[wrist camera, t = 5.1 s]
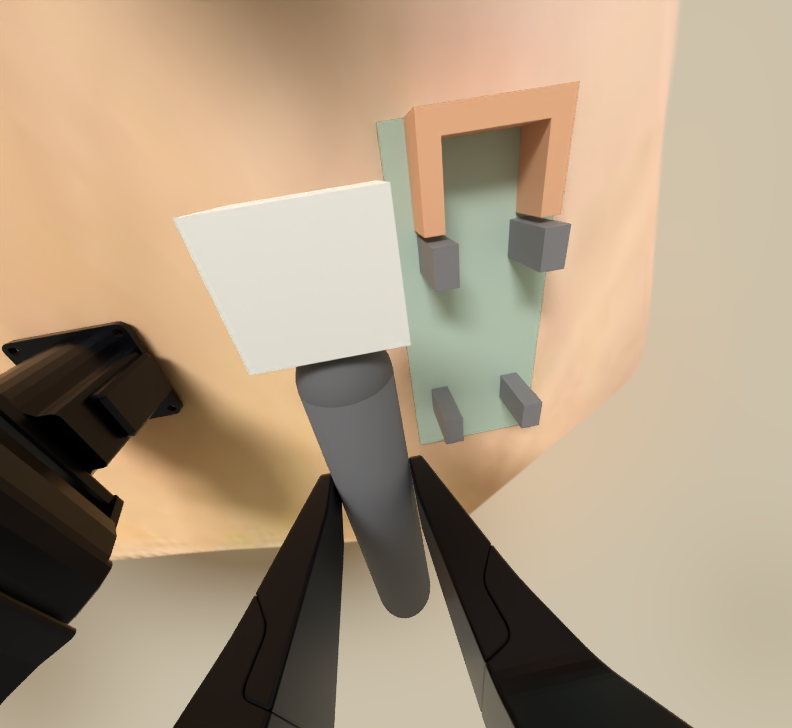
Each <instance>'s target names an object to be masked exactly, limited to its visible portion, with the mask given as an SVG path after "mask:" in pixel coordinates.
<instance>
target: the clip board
mask: <svg viewBox="0 0 792 728" xmlns="http://www.w3.org/2000/svg"><path fill="white" fill-rule="evenodd" d="M579 84H580V81H577V82H571V83H565V84H558V85H552V86H545V87H539V88H533V89H526V90H520V91H514V92H507V93H501V94H494V95H488V96H482V97H475V98H469V99H462V100H456V101H450V102H443V103H437V104H431V105H424V106H418V107H413V108H412V110H411V111H410V112H409V113H408V114H407V115H406V116H405V117H404V118H399V119H393V120H387V121H380V122H377V123H376V127H377V135H378V142H379V149H380V156H381V164H382V171H383V178H384V181H385V182H390V186H391V193H392V201H393V209H394V217H395V225H396V232H397V240H398V248H399V256H400V264H401V271H402V279H403V287H404V295H405V303H406V311H407V318H408V326H409V334H410V342H411V345H409V346H407V353H408V360H409V367H410V375H411V382H412V389H413V396H414V404H415V411H416V418H417V426H418V433H419V440H420V444H421V445H423V444H428V443H433V442H437V441H442V440H445V443H446V444H449V443H454V442H459V441H464V436H466V435H471V434H476V433H481V432H485V431H490V430H495V429H500V428H505V427H509V426H514V425H519V426H520V427H521V428H526V427H531V426H535V425H539V420H540V414H541V407H542V401H541V400H540V399H539V398H538V397H537V395H536V394H535V393H534V392H533V391H532V390H531V382H532V374H533V367H534V359H535V351H536V344H537V336H538V328H539V321H540V313H541V305H542V298H543V290H544V282H545V275H546V272H548V271H553V270H559V269H564V265H565V259H566V253H567V246H568V240H569V234H570V228H571V224H569V223H564V222H559V221H555V220H553V215H558V214H561V210H562V203H563V196H564V189H565V182H566V175H567V168H568V161H569V154H570V147H571V140H572V133H573V126H574V119H575V112H576V105H577V98H578V91H579Z"/></svg>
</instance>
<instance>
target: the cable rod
mask: <svg viewBox="0 0 792 728" xmlns="http://www.w3.org/2000/svg"><path fill="white" fill-rule="evenodd" d="M173 220H174V222H175V224H176V226H177V228H178V230H179V232H180V234H181V236H182V238H183V240H184V242H185V244H186V246H187V248H188V250H189V252H190V254H191V257H192V259H193V261H194V263H195V265H196V267H197V269H198V271H199V273H200V275H201V277H202V279H203V281H204V283H205V285H206V287H207V289H208V291H209V293H210V295H211V297H212V299H213V301H214V303H215V305H216V307H217V309H218V312H219V314H220V316H221V318H222V320H223V322H224V324H225V326H226V328H227V330H228V332H229V334H230V336H231V338H232V340H233V342H234V344H235V346H236V348H237V350H238V352H239V354H240V356H241V358H242V360H243V362H244V365H245V367H246V369H247V371H248V373H249V375H254V374H260V373H265V372H270V371H276V370H281V369H286V368H292V367H296V385H297V389H298V393H299V396H300V398H301V401H302V403H303V406H304V408H305V411H306V413H307V416H308V418H309V421H310V423H311V426H312V428H313V431H314V433H315V436H316V438H317V441H318V443H319V446H320V448H321V451H322V453H323V456H324V458H325V461H326V463H327V466H328V468H329V471H330V473H331V476H332V478H333V481H334V483H335V486H336V488H337V491H338V493H339V496H340V498H341V501H342V503H343V506H344V508H345V511H346V513H347V516H348V518H349V521H350V523H351V526H352V528H353V531H354V533H355V536H356V538H357V541H358V543H359V546H360V548H361V551H362V553H363V556H364V558H365V561H366V563H367V566H368V568H369V571H370V573H371V576H372V578H373V581H374V583H375V586H376V588H377V591H378V594H379V596H380V598H381V601H382V603H383V605H384V606H385V608H386V609H387V610H388V611H389V612H390V613H391V614H393V615H394V616H397V617H400V618H409V617H412V616H415V615H416V614H418V613H419V612H420V611H421V610H422V609H423V608H424V606H425V605H426V603H427V600H428V598H429V593H430V580H429V574H428V568H427V562H426V557H425V551H424V545H423V539H422V534H421V528H420V522H419V516H418V511H417V505H416V499H415V493H414V488H413V482H412V476H411V470H410V465H409V459H408V453H407V447H406V442H405V436H404V430H403V424H402V419H401V413H400V407H399V401H398V395H397V390H396V384H395V378H394V372H393V367H392V363H391V360H390V357H389V355H388V353H387V351H386V350H388V349H393V348H398V347H404V346H409V345H411V342H410V334H409V326H408V318H407V311H406V303H405V295H404V287H403V279H402V271H401V264H400V256H399V248H398V240H397V232H396V225H395V217H394V209H393V201H392V193H391V186H390V182H385V181H379V180H376V181H370V182H364V183H358V184H352V185H346V186H340V187H334V188H328V189H322V190H316V191H310V192H304V193H298V194H292V195H286V196H280V197H274V198H268V199H262V200H256V201H250V202H244V203H238V204H232V205H227V206H222V207H218V208H214V209H210V210H206V211H202V212H198V213H193V214H189V215H185V216H181V217H177V218H173Z"/></svg>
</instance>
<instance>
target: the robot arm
mask: <svg viewBox="0 0 792 728" xmlns="http://www.w3.org/2000/svg"><path fill="white" fill-rule="evenodd" d="M117 329H120V330H121V331H122V332H123V334H122V333H120V332H119V331H118V330H117ZM18 350H19V351H18ZM2 351H3V352H4V353H5V354H6V355H7V356H8V357H9V358H10V360H11V361H12V362H13V363H14V364H15V365H16V366H15V367H13V368H11V369H9V370H8V371H6V372H4V373H2V374H1V375H0V705H1V703H2V702H3V701H4V700H5V699H6V698H7V697H8V696H9V695H10V694H11V693H12V692H13V691H14V690H15V689H16V688H17V687H18V686H19V685H20V684H21V682H23V681H24V680H25V679H26V678H27V677H28V676H29V675H30V674H31V673H32V672H33V671H34V670H35V669H36V668H37V667H38V666H39V665H40V664H41V663H43V662H44V661H45V660H46V659H48V658H49V657H50V656H51V655H53V654H54V653H55V652H56V651H57V650H59V649H60V648H61V647H62V646H64V645H65V644H66V643H67V642H68V641H70V640H71V639H72V638H73V636H74V635H75V633H76V629H75V628H74V627H72V626H70V625H68V624H69V623H70V622H71V621H72V620H73V619H74V618H75V617H76V616H77V615H78V613H79V612H80V611H81V610H82V608H83V607H84V606H85V605H86V604H87V602H88V601H89V600H90V599H91V598H92V596H93V595H94V594H95V593H96V592H97V590H98V589H99V588H100V586H101V584H102V583H103V581H104V580H105V578H106V577H107V575H108V573H109V572H110V570H111V568H112V561H110V560H109V558H110V556H111V553H112V550H113V546H114V543H115V540H116V537H117V535H116V527H117V524H118V520H119V517H120V514H121V510H122V507H123V503H124V501H123V500H121V499H120V498H119V497H118V496H117V495H112V494H111V493H110V492H109V491H108V490H107V489H106V488H105V487H104V486H103V485H101V484H100V483H99V482H98V481H97V480H96V479H95V478H94V477H93V476H92V475H93V474H94V473H95V471H96V470H97V469H100V468H104V467H107V465H108V464H109V463H110V462H111V460H112V459H113V458H114V457H115V456H116V454H117V453H118V452H119V451H120V450H121V448H122V447H123V446H124V445H125V443H126V442H127V441H128V440H129V439H130V437H131V436H135V435H136V434H137V433H138V431H139V430H140V429H141V428H142V427H143V425H144V424H145V423H146V422H147V420H148V419H152V418H157V417H162V416H167V415H172V414H177V413H179V412H180V411H181V409H182V408H183V403H182V401H181V400H180V398H179V397H178V396H177V394H176V393H175V391H174V390H173V388H172V386H171V385H170V383H169V382H168V381H167V379H166V378H165V376H164V375H163V373H162V372H161V370H160V369H159V367H158V366H157V364H156V363H155V361H154V360H153V358H152V357H151V356H150V354H149V353H148V351H147V350H146V348H145V347H144V346H143V344H142V343H141V341H140V340H139V338H138V337H137V335H136V334H135V332H134V331H133V329H132V328H131V327H130V326H129V325H128V324H126V323H124V322H112V323H106V324H101V325H95V326H90V327H84V328H79V329H73V330H68V331H62V332H57V333H51V334H46V335H40V336H35V337H29V338H24V339H18V340H13V341H11V342H9V343H7V344H5V345H3V346H2ZM171 405H173V406H175V407H173V406H171ZM409 464H410V469H411V475H412V480H413V485H414V490H415V495H416V500H417V505H418V511H419V516H420V521H421V525H422V529H423V532H424V536H425V539H426V542H427V545H428V548H429V552H430V555H431V558H432V561H433V564H434V567H435V570H436V573H437V576H438V579H439V582H440V586H441V589H442V592H443V595H444V598H445V601H446V605H447V608H448V611H449V614H450V617H451V620H452V623H453V626H454V629H455V633H456V636H457V639H458V642H459V645H460V648H461V651H462V654H463V657H464V661H465V664H466V667H467V670H468V673H469V676H470V679H471V682H472V686H473V688H474V692H475V695H476V698H477V701H478V704H479V707H480V710H481V712H482V717H483V720H484V723H485V726H486V728H693V727H692V726H690V725H689V724H687V723H686V722H685V721H683V720H682V719H680V718H679V717H678V716H676V715H675V714H673V713H672V712H670V711H669V710H668V709H666V708H665V707H663V706H662V705H661V704H659V703H658V702H656V701H655V700H654V699H652V698H651V697H649V696H648V695H646V694H645V693H644V692H642V691H641V690H639V689H638V688H637V687H635V686H634V685H632V684H631V683H630V682H628V681H627V680H625V679H624V678H622V677H621V676H620V675H618V674H617V673H616V672H614V671H613V670H612V669H610V668H609V667H608V666H607V665H606V664H605V663H603V662H602V661H601V660H600V659H599V658H598V657H597V656H595V655H594V654H593V653H592V652H591V651H590V650H589V649H588V648H587V647H586V646H585V645H584V644H583V643H582V642H581V641H580V640H579V639H578V638H577V637H576V636H575V635H574V634H573V633H572V632H571V631H570V630H569V629H568V628H567V627H566V626H565V625H564V624H563V623H562V622H561V621H560V620H559V618H557V617H556V615H554V613H553V612H552V611H551V610H550V609H549V608H548V607H547V606H546V605H545V604H544V603H543V602H542V601H541V600H540V599H539V598H538V597H537V596H536V595H535V594H534V593H533V592H532V591H531V590H530V589H529V587H528V586H527V585H526V584H525V583H524V582H523V581H522V580H521V579H520V578H519V576H518V575H517V574H516V573H515V572H514V571H513V569H512V568H511V567H510V566H509V565H508V563H507V562H506V561H505V560H504V559H503V558H502V556H501V555H500V554H499V552H498V551H497V550H496V549H495V548H494V546H492V545H491V543H490V541H489V540H488V539H487V538H486V537H485V535H484V534H483V533H482V531H481V530H480V529H479V528H478V526H477V525H476V524H475V523H474V521H473V520H472V519H471V517H470V516H469V515H468V514H467V512H466V511H465V510H464V508H463V507H462V506H461V505H460V503H459V502H458V501H457V500H456V498H455V497H454V496H453V495H452V493H451V492H450V491H449V490H448V488H447V487H446V486H445V484H444V483H443V482H442V481H441V479H440V478H439V477H438V476H437V474H436V473H435V472H434V471H433V469H432V468H431V467H430V466H429V464H428V463H427V462H426V460H425V459H424V458H423V457H422V456H421V455H418V456H413V457H410V458H409ZM343 552H344V535H343V517H342V501H341V498H340V496H339V493H338V491H337V488H336V486H335V483H334V481H333V478H332V476H331V473H328V474H323V475H321V476H320V477H319V479H318V481H317V483H316V484H315V486H314V488H313V490H312V492H311V493H310V495H309V497H308V499H307V501H306V503H305V504H304V506H303V508H302V510H301V512H300V514H299V515H298V517H297V519H296V521H295V523H294V525H293V526H292V528H291V530H290V532H289V534H288V535H287V537H286V539H285V541H284V543H283V545H282V546H281V548H280V550H279V552H278V554H277V556H276V557H275V559H274V561H273V563H272V565H271V566H270V568H269V570H268V572H267V574H266V576H265V577H264V579H263V581H262V583H261V585H260V587H259V588H258V590H257V592H256V595H257V596H254V597H253V599H252V601H251V603H250V605H249V606H248V608H247V610H246V612H245V614H244V615H243V617H242V619H241V621H240V622H239V624H238V626H237V628H236V629H235V631H234V633H233V634H232V636H231V638H230V640H229V641H228V643H227V645H226V646H225V647H224V649H223V651H222V652H221V654H220V655H219V657H218V659H217V660H216V662H215V664H214V665H213V667H212V668H211V670H210V671H209V673H208V674H207V676H206V677H205V679H204V680H203V682H202V683H201V685H200V687H199V688H198V690H197V691H196V693H195V694H194V696H193V697H192V699H191V700H190V702H189V704H188V705H187V707H186V708H185V710H184V711H183V713H182V714H181V716H180V718H179V719H178V721H177V722H176V724H175V725H174V727H173V728H334V721H335V702H336V683H337V666H338V665H337V664H338V645H339V628H340V611H341V591H342V574H343V554H344V553H343Z"/></svg>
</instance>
